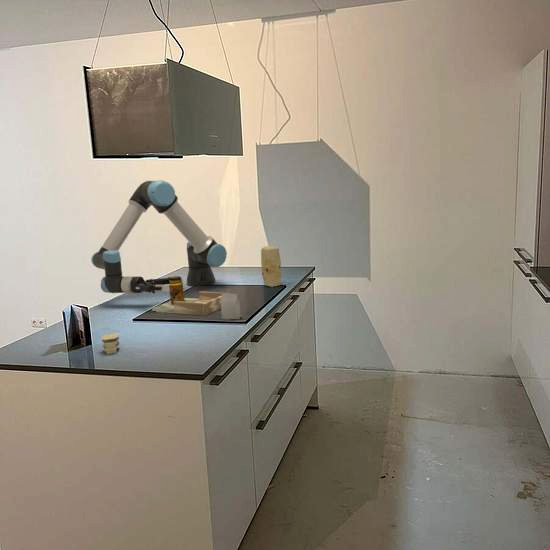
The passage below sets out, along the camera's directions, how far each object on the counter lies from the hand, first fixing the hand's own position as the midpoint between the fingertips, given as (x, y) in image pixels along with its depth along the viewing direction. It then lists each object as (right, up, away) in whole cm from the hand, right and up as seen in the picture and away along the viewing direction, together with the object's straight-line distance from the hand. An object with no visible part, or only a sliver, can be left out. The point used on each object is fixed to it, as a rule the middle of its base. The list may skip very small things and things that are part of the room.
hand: (176, 284), depth 263 cm
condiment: (0, -8, +3) cm, 9 cm away
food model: (+42, -1, +33) cm, 54 cm away
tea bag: (+26, -13, -23) cm, 37 cm away
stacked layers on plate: (-13, -23, -56) cm, 62 cm away
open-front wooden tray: (+7, -10, -1) cm, 13 cm away
